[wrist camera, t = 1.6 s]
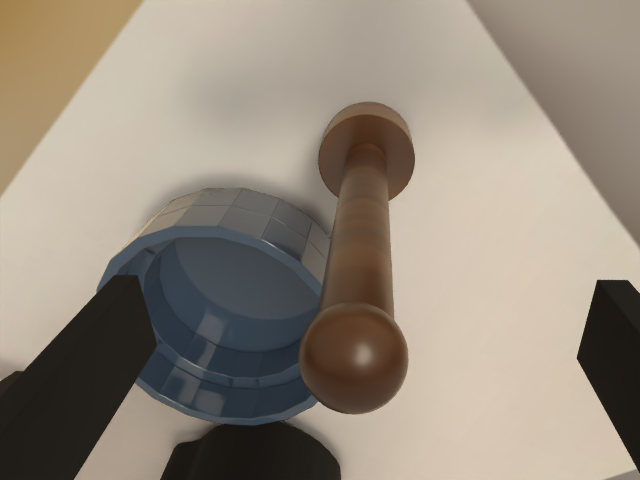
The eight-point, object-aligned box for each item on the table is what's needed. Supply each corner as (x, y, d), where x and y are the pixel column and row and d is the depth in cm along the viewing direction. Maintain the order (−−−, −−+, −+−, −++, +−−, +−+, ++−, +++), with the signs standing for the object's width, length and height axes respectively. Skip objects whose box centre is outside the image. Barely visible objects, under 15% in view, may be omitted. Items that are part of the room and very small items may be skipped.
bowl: (115, 185, 31) (61, 226, 25) (346, 182, 29) (339, 225, 23) (165, 360, 38) (131, 419, 33) (352, 366, 36) (348, 431, 31)
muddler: (321, 103, 27) (222, 304, 10) (412, 99, 26) (479, 309, 9) (326, 187, 29) (253, 465, 12) (409, 186, 28) (456, 477, 11)
